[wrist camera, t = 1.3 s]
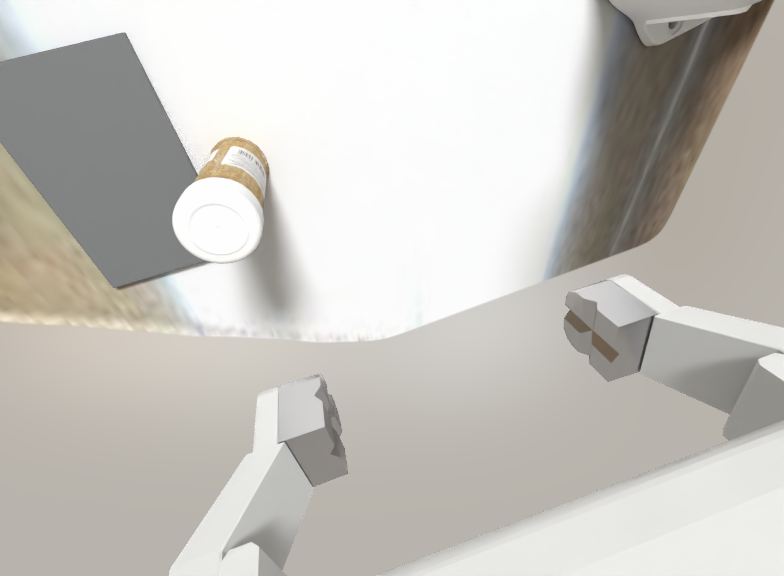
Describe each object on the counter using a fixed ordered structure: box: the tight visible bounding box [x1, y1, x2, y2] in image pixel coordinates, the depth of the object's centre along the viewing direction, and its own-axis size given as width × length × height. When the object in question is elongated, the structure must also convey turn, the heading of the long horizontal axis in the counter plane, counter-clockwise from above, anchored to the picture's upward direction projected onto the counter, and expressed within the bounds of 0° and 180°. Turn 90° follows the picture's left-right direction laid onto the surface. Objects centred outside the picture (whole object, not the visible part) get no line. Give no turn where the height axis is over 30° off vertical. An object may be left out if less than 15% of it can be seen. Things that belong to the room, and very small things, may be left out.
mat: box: [0, 33, 205, 288], centre depth 29 cm, size 11×17×1 cm, turn 12°
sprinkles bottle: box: [172, 137, 268, 264], centre depth 26 cm, size 5×5×14 cm
